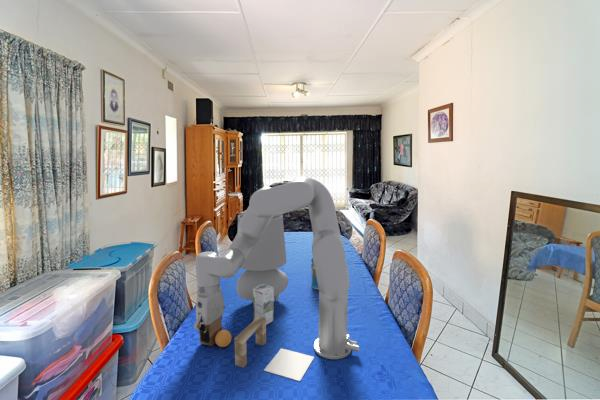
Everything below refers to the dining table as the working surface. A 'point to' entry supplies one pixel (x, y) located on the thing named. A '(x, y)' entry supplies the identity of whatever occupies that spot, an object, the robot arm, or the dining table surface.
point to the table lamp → (265, 261)
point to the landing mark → (289, 364)
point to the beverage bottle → (313, 276)
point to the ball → (223, 338)
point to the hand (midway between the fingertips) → (211, 336)
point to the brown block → (212, 331)
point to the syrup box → (263, 302)
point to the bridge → (241, 338)
